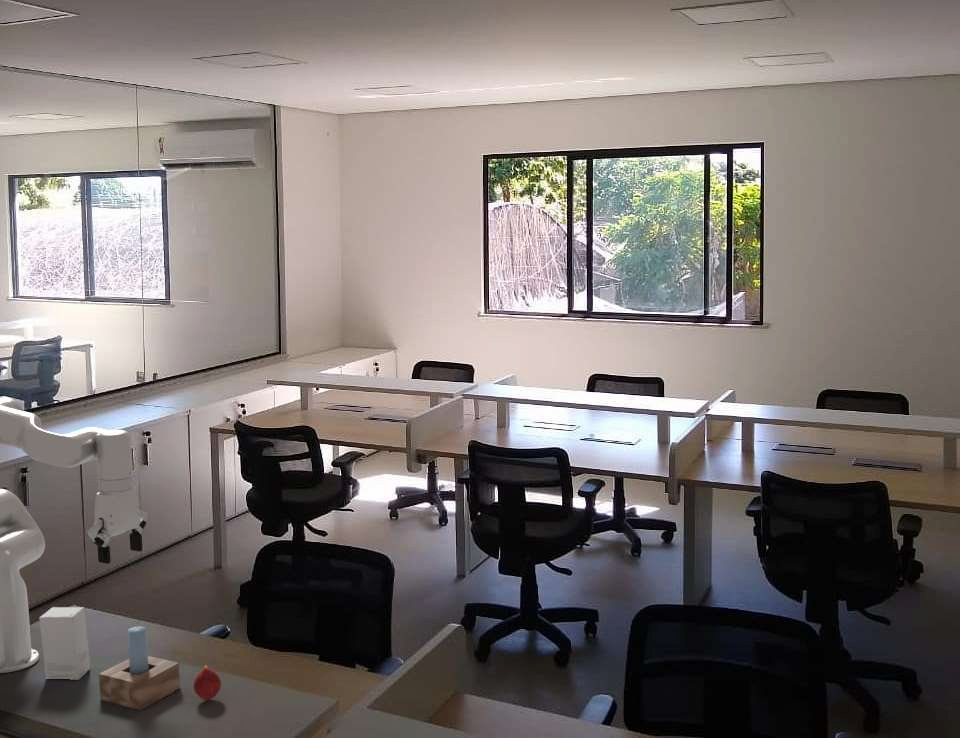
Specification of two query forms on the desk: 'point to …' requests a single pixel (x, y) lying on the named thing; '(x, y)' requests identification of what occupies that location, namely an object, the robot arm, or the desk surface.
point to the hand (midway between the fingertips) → (120, 556)
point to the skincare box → (65, 643)
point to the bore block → (139, 683)
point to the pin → (138, 650)
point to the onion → (207, 684)
